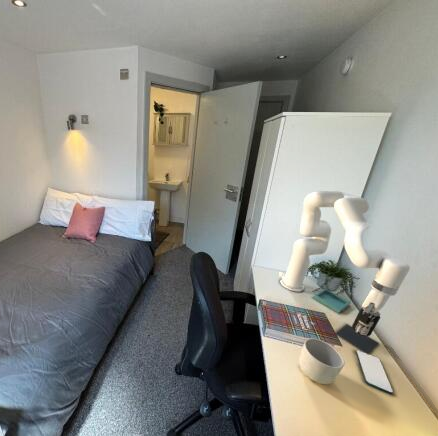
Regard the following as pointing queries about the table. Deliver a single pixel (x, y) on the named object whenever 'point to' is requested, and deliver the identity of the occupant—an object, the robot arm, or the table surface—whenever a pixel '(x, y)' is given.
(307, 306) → the table surface
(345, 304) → the tray
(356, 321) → the beverage can
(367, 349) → the mat
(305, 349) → the planter
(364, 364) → the smartphone
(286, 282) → the robot arm
